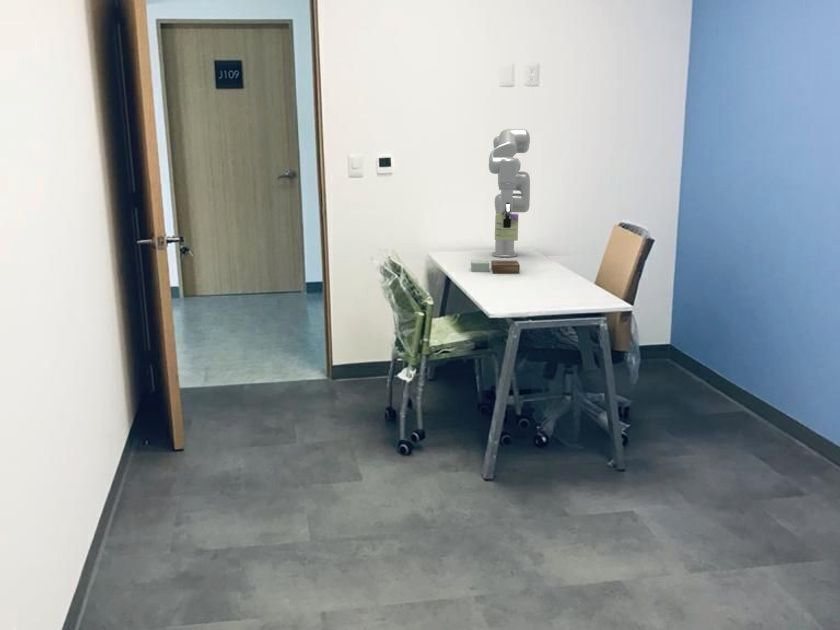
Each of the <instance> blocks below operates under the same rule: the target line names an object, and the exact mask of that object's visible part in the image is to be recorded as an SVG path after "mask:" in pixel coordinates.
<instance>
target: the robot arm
mask: <svg viewBox="0 0 840 630" xmlns="http://www.w3.org/2000/svg"><path fill="white" fill-rule="evenodd" d="M492 142H493V143H492V144H493V150H491V152H490V154H489V156H488V170H489V173H491V174H494V175H495V174H496V175H497V186H498V190H499V191H500V193H497V194H496V196H495V197H494V207H495V208H494V209H495V214H496V213H504V222H503V227H504V228H510V227H511V219H510V213H518V214H520V213H527V212H528V211H529V210H530V203H531V177H530V174H529V173H528V172H526V171H523V170H522V171H520V170H521V165H522V164H521V160H520V159H519V158H517V157H514V156H515V155H516V154H525V153H527V152H528V151H529V148H530V143H531V137H530V133H529V131H528V130H527V129H524V128H507V129H503V130H502V131H501V132H500V133H499V136H495V137H494V139H493V141H492ZM514 191H515V192H516V191H519V192H520V193H518V192H517V193H514ZM494 240H495V239H494ZM494 247H495V249H494V250H495V251H494V252H492V253H491V256H493V257H497V258H515V257H517V255H518V254H517V252H515V241H514V240H495V246H494Z"/></svg>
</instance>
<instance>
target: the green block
mask: <svg viewBox="0 0 840 630" xmlns="http://www.w3.org/2000/svg"><path fill="white" fill-rule="evenodd" d="M470 271H471V272H472V273H489V272H490V262H489V260H488V259H487V260H485V259H483V260H482V259H481V260H479V259H478V260H475V259H474V260H473V259H472V260H470Z"/></svg>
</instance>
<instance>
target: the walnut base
mask: <svg viewBox="0 0 840 630" xmlns="http://www.w3.org/2000/svg"><path fill="white" fill-rule="evenodd" d="M490 261H491V262H490V263H491V264H490V267H491V272H492V274H493V275H495V274H497V275H500V274H502V275H506V274H507V275H519V274H520V272H521V271H520V268H521V267H520V266H521V265H520V263H519V261H518V260H507V259H506V260H505V259H504V260H503V259H502V260H501V259H500V260H499V259H498V260H495V259H494V260H493V259H492V260H490Z"/></svg>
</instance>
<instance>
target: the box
mask: <svg viewBox="0 0 840 630" xmlns="http://www.w3.org/2000/svg"><path fill="white" fill-rule="evenodd" d="M510 219H511V227H510V228H504V227H503V222H504V213H496V212H495V219H494V240H514V242H515V241H518V237H519V213H514V212H512V213H510Z"/></svg>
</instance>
